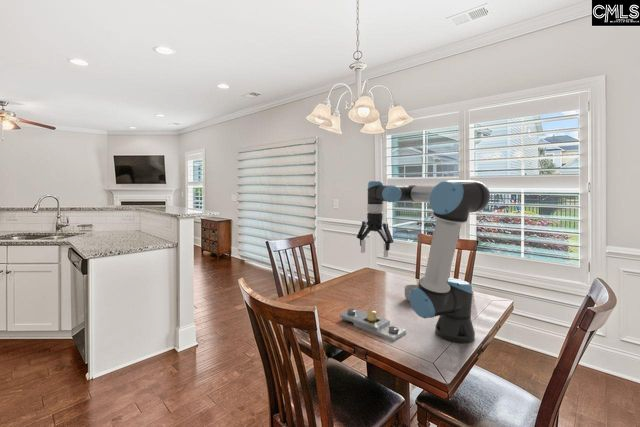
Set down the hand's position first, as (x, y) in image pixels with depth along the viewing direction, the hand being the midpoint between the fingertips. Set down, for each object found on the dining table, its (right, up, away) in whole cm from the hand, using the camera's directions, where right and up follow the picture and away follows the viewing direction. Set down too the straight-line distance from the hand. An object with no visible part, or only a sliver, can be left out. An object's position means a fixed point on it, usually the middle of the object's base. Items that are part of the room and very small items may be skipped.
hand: (374, 254), depth 163 cm
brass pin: (-4, -29, -21) cm, 36 cm away
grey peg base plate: (-4, -29, -21) cm, 36 cm away
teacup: (+25, -26, +10) cm, 37 cm away
